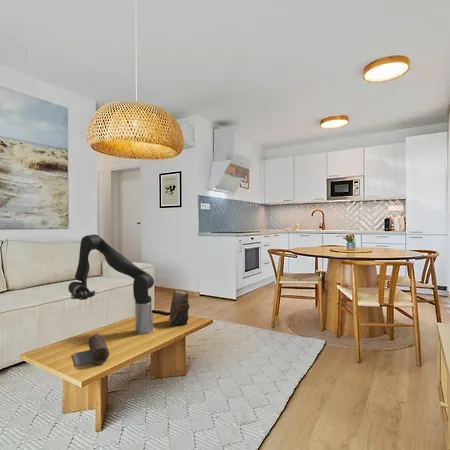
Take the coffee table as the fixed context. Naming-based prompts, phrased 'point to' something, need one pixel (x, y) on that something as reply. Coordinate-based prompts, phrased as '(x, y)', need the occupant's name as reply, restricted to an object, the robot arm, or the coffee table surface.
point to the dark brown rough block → (179, 309)
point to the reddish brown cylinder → (98, 348)
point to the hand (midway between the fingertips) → (85, 297)
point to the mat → (83, 358)
